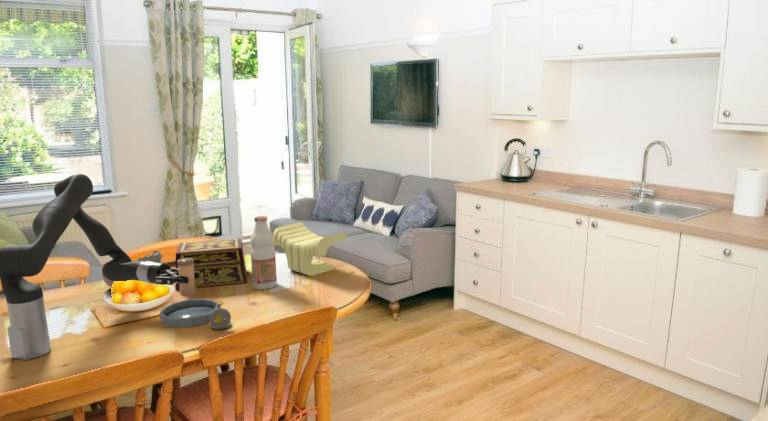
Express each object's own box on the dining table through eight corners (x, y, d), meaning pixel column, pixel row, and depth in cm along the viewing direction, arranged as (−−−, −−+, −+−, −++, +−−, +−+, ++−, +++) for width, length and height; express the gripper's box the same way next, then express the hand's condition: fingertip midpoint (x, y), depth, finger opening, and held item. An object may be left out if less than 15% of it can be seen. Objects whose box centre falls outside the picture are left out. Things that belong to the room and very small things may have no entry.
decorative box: (175, 290, 225) (171, 254, 222) (179, 276, 243) (176, 242, 240) (247, 283, 232) (244, 248, 229) (246, 270, 249) (243, 237, 246)
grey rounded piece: (223, 320, 193) (221, 292, 191) (238, 326, 188) (236, 298, 186) (202, 328, 187) (199, 299, 185) (217, 335, 182) (214, 305, 180)
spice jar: (189, 297, 193) (186, 263, 191) (176, 295, 195) (173, 261, 192) (199, 291, 198) (197, 258, 195) (187, 290, 200) (184, 257, 197)
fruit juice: (248, 288, 226) (243, 218, 220) (262, 280, 234) (257, 214, 229) (268, 290, 222) (263, 220, 217) (281, 283, 231) (277, 215, 225)
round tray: (194, 330, 186) (194, 322, 185) (148, 323, 193) (147, 315, 192) (230, 309, 203) (229, 302, 203) (186, 303, 210) (186, 296, 210)
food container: (153, 282, 235) (150, 258, 233) (139, 281, 237) (137, 258, 235) (170, 273, 247) (167, 250, 245) (157, 272, 248) (154, 250, 246)
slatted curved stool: (274, 267, 252) (272, 228, 248) (302, 259, 263) (301, 222, 260) (318, 281, 232) (317, 239, 228) (347, 272, 243) (346, 232, 239)
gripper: (137, 268, 193) (177, 273, 187) (167, 256, 206) (206, 261, 200) (139, 289, 195) (180, 295, 189) (169, 276, 208) (207, 281, 202)
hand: (193, 277), depth 194 cm, fingers closed on spice jar, 5 cm apart
